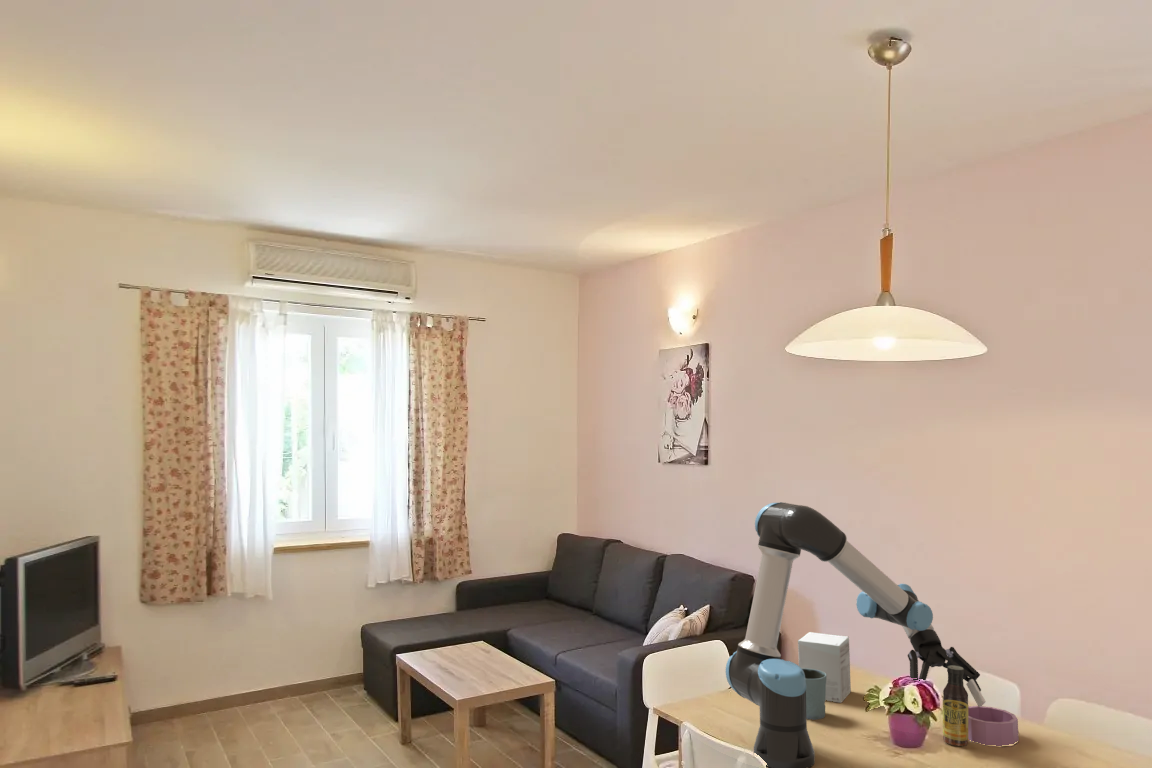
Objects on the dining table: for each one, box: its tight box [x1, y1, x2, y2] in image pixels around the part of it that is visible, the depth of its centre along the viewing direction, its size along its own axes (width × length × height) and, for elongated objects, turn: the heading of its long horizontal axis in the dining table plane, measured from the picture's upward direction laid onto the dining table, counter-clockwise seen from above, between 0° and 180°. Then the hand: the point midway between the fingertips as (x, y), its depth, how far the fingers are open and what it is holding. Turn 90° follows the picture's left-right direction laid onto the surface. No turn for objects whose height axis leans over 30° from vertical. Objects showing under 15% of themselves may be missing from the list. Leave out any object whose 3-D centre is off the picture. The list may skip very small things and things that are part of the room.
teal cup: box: [802, 668, 826, 721], centre depth 235 cm, size 10×10×12 cm
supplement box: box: [797, 631, 852, 704], centre depth 254 cm, size 13×13×18 cm
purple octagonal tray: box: [968, 705, 1020, 746], centre depth 216 cm, size 14×14×6 cm
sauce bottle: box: [942, 665, 969, 747], centre depth 213 cm, size 6×6×20 cm
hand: (959, 706), depth 211 cm, fingers open, 13 cm apart
